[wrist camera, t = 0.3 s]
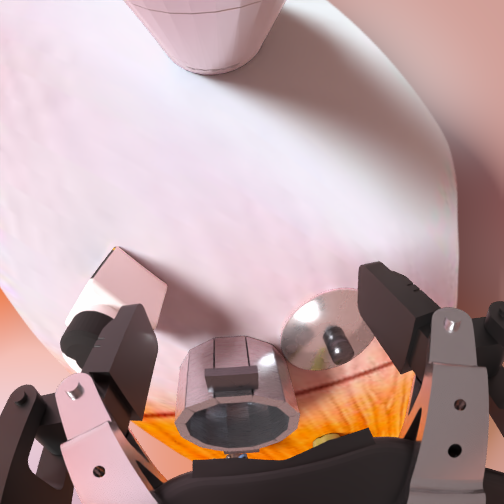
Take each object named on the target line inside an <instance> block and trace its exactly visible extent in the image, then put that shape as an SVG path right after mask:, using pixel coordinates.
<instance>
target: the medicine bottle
mask: <svg viewBox="0 0 504 504" xmlns="http://www.w3.org/2000/svg"><path fill="white" fill-rule="evenodd" d="M167 288H168V287H167V284H166V283H164V282H163V281H161V280H160V279H159V278H157V277H156V276H155V275H154V274H152V273H151V272H150V271H148V270H147V269H146V268H144V267H143V266H142V265H141V264H139V263H138V262H137V261H135V260H134V259H133V258H132V257H130V256H129V255H128V254H127V253H125V252H124V251H123V250H122V249H120V248H119V247H117V246H116V247H114V248H113V249H112V251H111V252H110V253H109V255H108V256H107V257H106V258H105V260H104V261H103V262H102V264H101V265H100V266H99V268H98V269H97V270H96V272H95V273H94V274H93V276H92V277H91V278H90V280H89V282H88V283H87V285H86V286H85V288H84V290H83V291H82V293H81V295H80V296H79V298H78V300H77V302H76V303H75V305H74V307H73V308H72V310H71V312H70V314H69V316H68V317H67V319H66V322H65V323H66V325H67V326H68V327H67V329H66V331H65V333H64V334H63V336H62V338H61V341H60V346H61V351H62V354H63V356H64V358H65V360H66V361H67V363H68V364H69V365H70V366H71V367H72V368H73V369H74V370H75V371H76V372H77V373H81V371H82V369H83V367H84V364H85V362H86V360H87V358H88V356H89V354H90V352H91V350H92V348H94V344H95V343H96V341H97V340H98V337H99V335H100V333H101V331H102V329H103V328H104V327H105V326H106V325H107V324H108V323H109V322H110V321H111V320H114V319H115V317H116V315H117V313H118V311H119V309H120V307H121V306H124V305H131V304H139V303H140V304H142V305H143V307H144V308H145V311H146V313H147V316H148V318H149V321H150V323H151V326H152V328H153V330H154V329H155V328H156V327H157V323H158V320H159V316H160V312H161V309H162V305H163V302H164V298H165V294H166V291H167Z"/></svg>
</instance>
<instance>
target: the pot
mask: <svg viewBox="0 0 504 504" xmlns="http://www.w3.org/2000/svg"><path fill="white" fill-rule="evenodd" d="M299 417H300V412H299V409H298V405H297V401H296V397H295V394H294V390H293V386H292V382H291V379H290V375H289V371H288V367H287V364H286V360H285V359H284V357H283V356H282V355H281V354H280V353H279V352H278V350H277V349H276V348H275V347H274V346H273V345H272V344H269V343H266V342H263V341H260V340H257V339H254V338H251V337H248V336H246V337H245V336H236V337H220V338H215V339H214V338H213V339H211V340H209V341H207V342H205V343H203V344H201V345H199V346H197V347H195V348H193V349H191V350H189V352H188V354H187V356H186V357H185V359H184V361H183V363H182V364H181V366H180V373H179V382H178V391H177V401H176V412H175V425H176V427H177V429H178V431H179V433H180V435H181V436H182V437H183V438H185V439H186V440H188V441H190V442H192V443H194V444H196V445H198V446H200V447H203V448H208V449H214V450H220V451H224V454H239V453H252V452H259V448H262V447H266V446H269V445H272V444H275V443H278V442H279V441H282V440H283V439H284V438H286V437H287V436H288V435H290V434H291V433H292V432H293V431H295V430H296V428H297V426H298V422H299Z"/></svg>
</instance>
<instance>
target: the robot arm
mask: <svg viewBox="0 0 504 504" xmlns="http://www.w3.org/2000/svg"><path fill="white" fill-rule="evenodd" d="M124 2H125V3H126V4H127V5H128V6H129V8H130V9H131V10H132V11H133V12H134V14H135V15H136V16H137V17H138V18H139V20H140V21H141V22H142V23H143V25H144V26H145V27H146V28H147V30H148V31H149V32H150V33H151V35H152V36H153V37H154V38H155V40H156V41H157V42H158V43H159V45H160V46H161V47H162V49H163V50H164V51H165V53H166V54H167V55H168V56H169V57H170V59H171V60H172V61H173V62H174V63H175V64H177V65H178V66H180V67H181V68H183V69H185V70H188V71H190V72H193V73H198V74H205V75H215V74H222V73H227V72H230V71H233V70H236V69H237V68H239V67H241V66H243V65H245V64H246V63H247V62H249V61H250V60H251V59H252V58H253V57H254V56H255V55H256V54H257V52H258V51H259V50H260V48H261V46H262V44H263V42H264V40H265V38H266V36H267V35H268V33H269V31H270V29H271V27H272V26H273V24H274V22H275V20H276V18H277V16H278V14H279V13H280V11H281V9H282V7H283V5H284V4H285V2H286V0H124ZM357 304H358V310H359V313H360V315H361V317H362V319H363V320H364V321H365V323H366V324H367V326H368V327H369V328H370V330H371V331H372V333H373V334H374V336H375V337H376V338H377V340H378V341H379V343H380V344H381V346H382V347H383V349H384V350H385V352H386V353H387V354H388V356H389V357H390V359H391V360H392V362H393V363H394V365H395V366H396V368H397V369H398V371H399V372H400V374H403V373H406V372H408V371H411V370H413V371H414V372H415V376H414V379H413V384H412V389H411V394H410V399H409V403H408V408H407V412H406V416H405V420H404V424H403V427H402V429H401V432H400V434H399V437H398V438H397V437H373V436H372V434H371V432H370V430H369V428H366V429H363V430H360V431H357V432H354V433H351V434H348V435H345V436H341V437H338V438H335V439H331V440H327V441H326V442H324V443H322V444H320V445H318V446H316V447H313V448H311V449H309V450H307V451H305V452H303V453H301V454H298V455H296V456H294V457H292V458H289V459H286V460H260V459H247V458H237V457H235V458H224V459H209V460H193V471H190V472H187V473H184V474H181V475H179V476H177V477H174V478H172V479H170V480H168V481H167V480H166V479H165V477H164V476H163V475H162V474H161V473H160V472H159V471H158V470H157V468H156V467H155V466H154V465H153V463H152V462H151V460H150V459H149V457H148V456H147V454H146V453H145V452H144V450H143V449H142V447H141V445H140V444H139V442H138V441H137V439H136V438H135V436H134V435H133V433H132V431H131V430H130V429H129V428H128V426H129V422H130V420H136V421H142V419H143V415H144V410H145V405H146V400H147V396H148V391H149V387H150V382H151V378H152V374H153V370H154V365H155V361H156V357H157V353H158V343H157V338H156V336H155V333H154V331H153V328H152V326H151V323H150V321H149V318H148V316H147V313H146V311H145V308H144V307H143V305H142V304H140V303H139V304H131V305H124V306H121V307H120V309H119V311H118V313H117V315H116V317H115V319H114V320H111V321H110V322H109V323H108V324H107V325H106V326H105V327H104V328H103V329H102V331H101V333H100V335H99V337H98V340H97V341H96V343H95V344H94V348H92V350H91V352H90V354H89V356H88V358H87V360H86V362H85V364H84V367H83V369H82V371H81V373H75V374H72V375H70V376H68V377H66V378H65V379H63V380H62V381H61V383H60V384H59V385H58V387H57V389H56V392H55V393H52V394H47V395H43V396H41V395H40V394H39V393H38V392H37V390H36V389H35V388H34V387H33V386H32V385H23V386H21V387H19V388H17V389H16V390H15V391H14V392H13V393H12V394H11V395H10V397H9V399H8V401H7V403H6V405H5V407H4V409H3V411H2V413H1V415H0V504H71V502H72V496H73V489H74V487H75V490H76V492H77V494H78V496H79V498H80V501H81V503H82V504H504V473H503V472H499V471H495V470H492V469H489V468H485V463H486V455H487V443H488V427H489V414H490V416H491V417H492V419H493V420H494V422H495V423H496V425H497V427H498V428H499V430H500V432H501V434H502V435H503V437H504V367H503V366H502V364H503V362H504V302H503V301H498V302H494V303H492V304H491V305H490V307H489V310H488V313H487V316H486V317H481V318H474V319H471V318H470V316H469V315H468V314H467V313H465V312H464V311H462V310H460V309H457V308H452V307H445V308H440V307H439V306H438V305H437V304H436V303H435V302H434V301H433V300H432V299H430V298H429V297H428V296H427V295H426V294H425V293H424V292H423V291H422V290H419V288H418V287H417V286H416V285H415V284H414V285H413V283H412V282H411V281H410V280H409V279H408V278H407V277H406V276H404V275H402V274H399V273H397V272H395V271H391V270H389V269H388V268H387V267H386V266H385V265H384V264H383V263H381V262H380V261H378V262H373V263H368V264H364V265H361V266H360V267H359V274H358V299H357ZM34 438H35V439H36V440H37V441H38V442H39V443H41V444H42V445H43V446H44V448H43V451H42V454H41V458H40V462H39V465H38V469H37V473H36V475H35V474H34V473H32V471H31V470H30V468H29V465H28V456H29V453H30V450H31V447H32V444H33V441H34Z"/></svg>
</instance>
